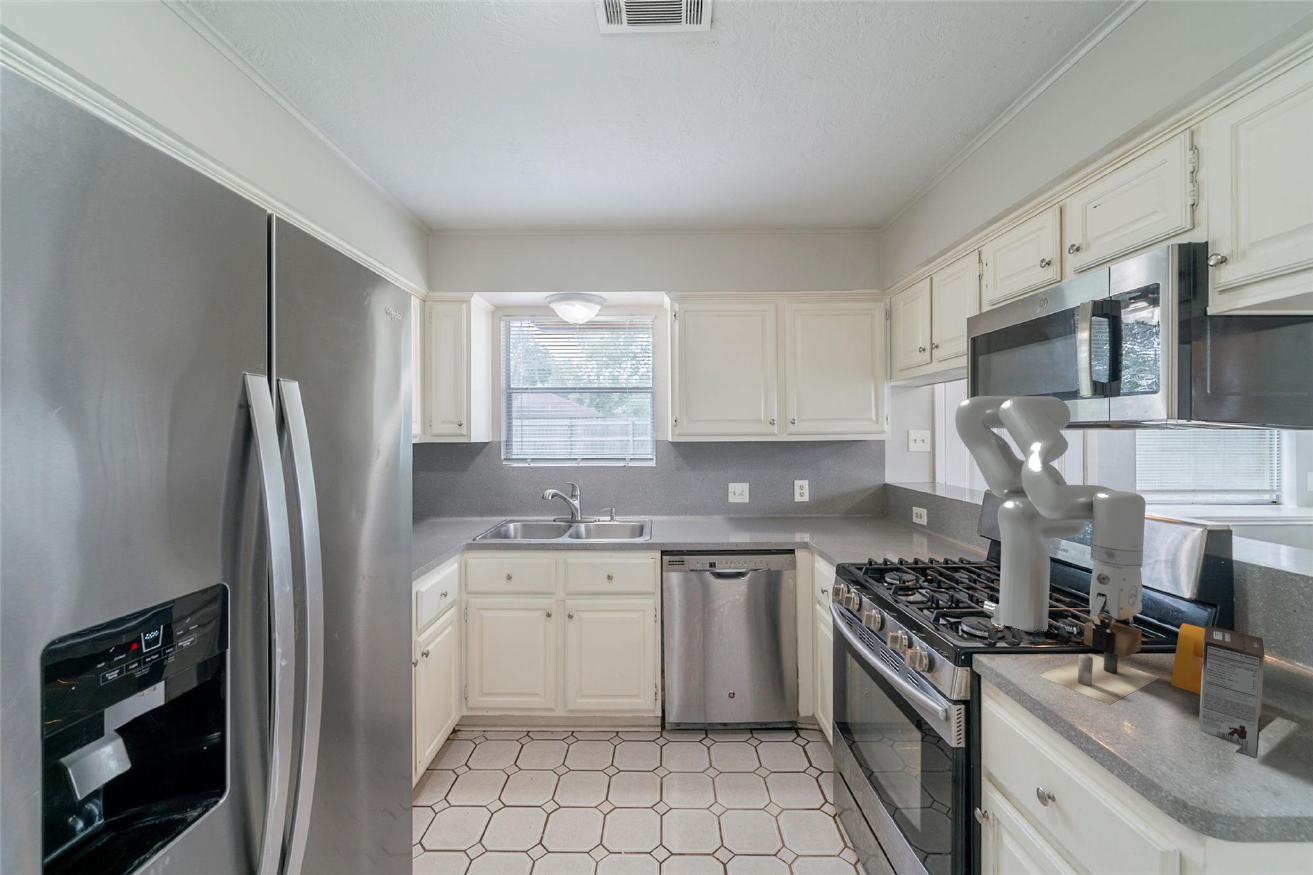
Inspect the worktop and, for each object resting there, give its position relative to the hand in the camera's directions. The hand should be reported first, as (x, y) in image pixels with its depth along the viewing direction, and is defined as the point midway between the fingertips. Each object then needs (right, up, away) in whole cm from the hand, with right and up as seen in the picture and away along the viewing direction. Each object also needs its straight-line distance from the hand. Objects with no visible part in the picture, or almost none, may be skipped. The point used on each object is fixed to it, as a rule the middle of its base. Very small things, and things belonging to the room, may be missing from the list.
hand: (1111, 646), depth 100 cm
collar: (0, 0, 0) cm, 0 cm away
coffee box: (+3, -8, -18) cm, 19 cm away
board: (-4, -7, -2) cm, 8 cm away
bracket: (+13, -7, -5) cm, 16 cm away
